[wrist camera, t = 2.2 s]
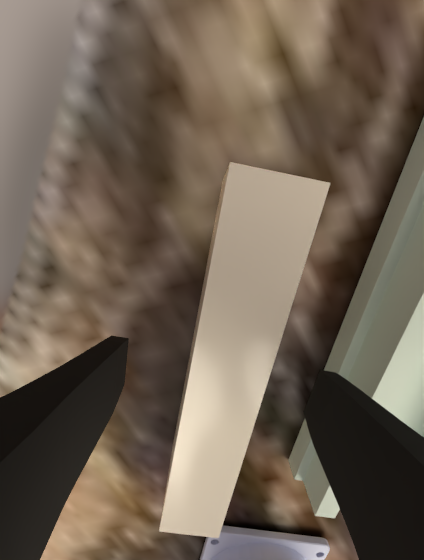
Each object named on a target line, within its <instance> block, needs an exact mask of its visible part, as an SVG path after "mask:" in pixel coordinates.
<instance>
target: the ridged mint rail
mask: <svg viewBox="0 0 424 560" xmlns="http://www.w3.org/2000/svg"><path fill="white" fill-rule="evenodd" d="M324 371H330V372H336V373H337V374H339V375H341V376H342V377H344V378H345V379H346V380H348V381H349V382H351V383H352V384H353V385H355V386H356V387H357V388H359V389H360V390H361V391H363V392H364V393H365V394H367V395H368V396H369V397H371V398H372V399H373V400H375V401H376V402H377V403H378V404H380V405H381V406H382V407H384V408H385V409H386V410H388V411H389V412H390V413H392V414H393V415H394V416H396V417H397V418H398V419H400V420H401V421H402V422H404V423H405V424H406V425H408V426H409V427H410V428H412V429H413V430H414V431H416V432H417V433H418V434H420V435H421V436H423V437H424V117H423V120H422V122H421V125H420V127H419V130H418V132H417V135H416V137H415V140H414V142H413V145H412V147H411V150H410V153H409V155H408V158H407V160H406V163H405V165H404V168H403V170H402V173H401V175H400V178H399V180H398V183H397V186H396V188H395V191H394V193H393V196H392V198H391V201H390V203H389V206H388V208H387V211H386V213H385V216H384V219H383V221H382V224H381V226H380V229H379V231H378V234H377V236H376V239H375V241H374V244H373V246H372V249H371V252H370V254H369V257H368V259H367V262H366V264H365V267H364V269H363V272H362V274H361V277H360V279H359V282H358V285H357V287H356V290H355V292H354V295H353V297H352V300H351V302H350V305H349V307H348V310H347V312H346V315H345V318H344V320H343V323H342V325H341V328H340V330H339V333H338V335H337V338H336V340H335V343H334V345H333V348H332V351H331V353H330V356H329V358H328V361H327V363H326V366H325V368H324ZM288 461H289V464H290V467H291V471H292V474H293V477H294V479H295V480H303V482H304V485H305V488H306V491H307V494H308V497H309V500H310V503H311V506H312V508H313V511H314V514H315V516H321V517H329V518H335V517H336V515H337V513H338V511H339V509H340V508H339V506H338V503H337V501H336V498H335V496H334V494H333V491H332V489H331V487H330V484H329V482H328V479H327V477H326V475H325V472H324V470H323V467H322V465H321V463H320V460H319V458H318V455H317V453H316V450H315V448H314V445H313V443H312V440H311V437H310V433H309V430H308V427H307V423H306V419H304V422H303V424H302V427H301V429H300V432H299V434H298V437H297V439H296V442H295V444H294V447H293V450H292V452H291V455H290V457H289V460H288Z"/></svg>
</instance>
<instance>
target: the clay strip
mask: <svg viewBox="0 0 424 560" xmlns="http://www.w3.org/2000/svg"><path fill="white" fill-rule="evenodd" d="M329 186H330V183H328V182H323V181H319V180H314V179H309V178H304V177H300V176H295V175H290V174H285V173H281V172H276V171H271V170H266V169H262V168H257V167H252V166H248V165H243V164H238V163H233V162H230V163H229V166H228V168H227V171H226V173H225V176H224V179H223V181H222V187H221V192H220V197H219V203H218V208H217V213H216V219H215V224H214V229H213V235H212V240H211V245H210V251H209V256H208V261H207V267H206V272H205V277H204V283H203V288H202V293H201V299H200V304H199V309H198V315H197V320H196V325H195V331H194V336H193V341H192V346H191V352H190V357H189V362H188V368H187V373H186V378H185V384H184V389H183V394H182V400H181V405H180V410H179V416H178V421H177V426H176V432H175V437H174V442H173V448H172V455H171V461H170V467H169V473H168V479H167V485H166V491H165V498H164V504H163V510H162V516H161V522H160V528H159V531H160V532H169V533H177V534H186V535H195V536H203V537H212V538H219V535H220V532H221V529H222V526H223V523H224V519H225V516H226V513H227V510H228V507H229V504H230V500H231V497H232V494H233V491H234V488H235V485H236V481H237V478H238V475H239V472H240V469H241V466H242V462H243V459H244V456H245V453H246V450H247V447H248V443H249V440H250V437H251V434H252V431H253V428H254V424H255V421H256V418H257V415H258V412H259V408H260V405H261V402H262V399H263V396H264V393H265V389H266V386H267V383H268V380H269V377H270V374H271V370H272V367H273V364H274V361H275V358H276V355H277V351H278V348H279V345H280V342H281V339H282V336H283V332H284V329H285V326H286V323H287V320H288V316H289V313H290V310H291V307H292V304H293V301H294V297H295V294H296V291H297V288H298V285H299V282H300V278H301V275H302V272H303V269H304V266H305V263H306V259H307V256H308V253H309V250H310V247H311V244H312V240H313V237H314V234H315V231H316V228H317V224H318V221H319V218H320V215H321V212H322V209H323V205H324V202H325V199H326V196H327V193H328V190H329Z"/></svg>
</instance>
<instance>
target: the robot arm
mask: <svg viewBox="0 0 424 560" xmlns="http://www.w3.org/2000/svg"><path fill="white" fill-rule="evenodd" d="M128 340H129V339H128V338H122V337H116V336H110V337H109V338H107V339H105V340H103V341H102V342H100V343H99V344H97V345H95V346H94V347H92V348H90V349H89V350H87V351H85V352H84V353H82V354H80V355H79V356H77V357H75V358H74V359H72V360H70V361H69V362H67V363H65V364H63V365H62V366H60V367H58V368H56V369H55V370H53V371H51V372H49V373H47V374H45V375H43V376H41V377H40V378H38V379H36V380H34V381H32V382H30V383H28V384H27V385H25V386H23V387H21V388H19V389H17V390H15V391H13V392H11V393H9V394H7V395H5V396H3V397H1V398H0V560H40V558H41V556H42V554H43V551H44V549H45V547H46V545H47V542H48V540H49V538H50V536H51V533H52V531H53V529H54V527H55V524H56V522H57V520H58V518H59V515H60V513H61V511H62V509H63V507H64V505H65V503H66V501H67V499H68V497H69V495H70V493H71V491H72V489H73V487H74V485H75V483H76V481H77V479H78V477H79V476H80V474H81V472H82V470H83V468H84V466H85V464H86V463H87V461H88V459H89V457H90V455H91V453H92V451H93V449H94V448H95V446H96V444H97V442H98V440H99V438H100V436H101V435H102V433H103V431H104V429H105V427H106V425H107V423H108V421H109V419H110V417H111V416H112V414H113V411H114V409H115V407H116V404H117V402H118V399H119V397H120V394H121V392H122V389H123V387H124V382H125V371H126V361H127V350H128ZM304 415H305V419H306V423H307V427H308V430H309V433H310V437H311V440H312V443H313V445H314V448H315V450H316V453H317V455H318V458H319V460H320V463H321V465H322V467H323V470H324V472H325V475H326V477H327V479H328V482H329V484H330V487H331V489H332V491H333V494H334V496H335V498H336V501H337V503H338V506H339V508H340V510H341V513H342V515H343V517H344V520H345V522H346V525H347V527H348V530H349V533H350V535H351V538H352V540H353V543H354V546H355V549H356V552H357V555H358V558H359V560H424V437H423V436H421V435H420V434H418V433H417V432H416V431H414V430H413V429H412V428H410V427H409V426H408V425H406V424H405V423H404V422H402V421H401V420H400V419H398V418H397V417H396V416H394V415H393V414H392V413H390V412H389V411H388V410H386V409H385V408H384V407H382V406H381V405H380V404H378V403H377V402H376V401H375V400H373V399H372V398H371V397H369V396H368V395H367V394H365V393H364V392H363V391H361V390H360V389H359V388H357V387H356V386H355V385H353V384H352V383H351V382H349V381H348V380H346V379H345V378H344V377H342V376H341V375H339V374H337V373H336V372H330V371H324V370H320V371H319V374H318V377H317V379H316V382H315V384H314V387H313V389H312V392H311V394H310V397H309V399H308V402H307V405H306V407H305V410H304ZM329 550H330V547H329V544H328V541H327V540H326V539H325V538H322V537H314V536H306V535H298V534H290V533H282V532H273V531H265V530H257V529H249V528H241V527H233V526H224V525H223V526H222V529H221V532H220V535H219V538H212V537H206V540H205V543H204V547H203V550H202V554H201V557H200V560H324V559H325V558H326V556H327V554H328V552H329Z"/></svg>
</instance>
